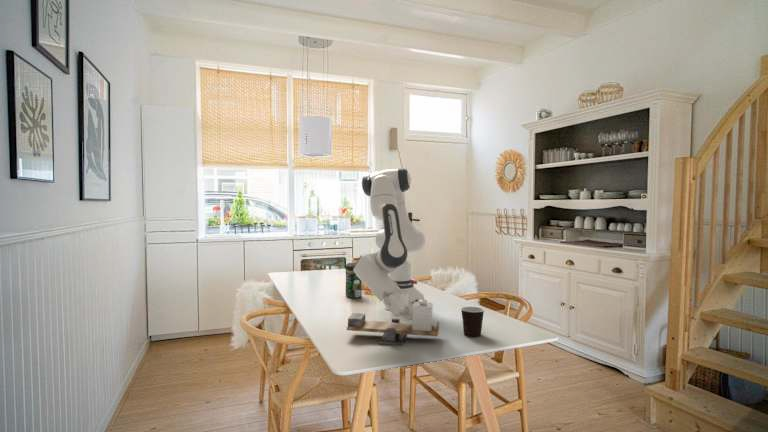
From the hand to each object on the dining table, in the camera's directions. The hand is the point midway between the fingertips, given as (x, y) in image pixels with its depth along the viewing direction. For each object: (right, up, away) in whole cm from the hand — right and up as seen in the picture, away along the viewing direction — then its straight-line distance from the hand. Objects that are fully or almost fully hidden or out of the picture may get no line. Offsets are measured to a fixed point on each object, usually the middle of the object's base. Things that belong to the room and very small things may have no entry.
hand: (411, 317), depth 157 cm
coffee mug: (+25, -8, +7) cm, 27 cm away
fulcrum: (-7, -8, +1) cm, 11 cm away
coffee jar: (-27, -7, +73) cm, 78 cm away
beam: (-7, -4, +1) cm, 8 cm away
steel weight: (+4, -4, -1) cm, 6 cm away
